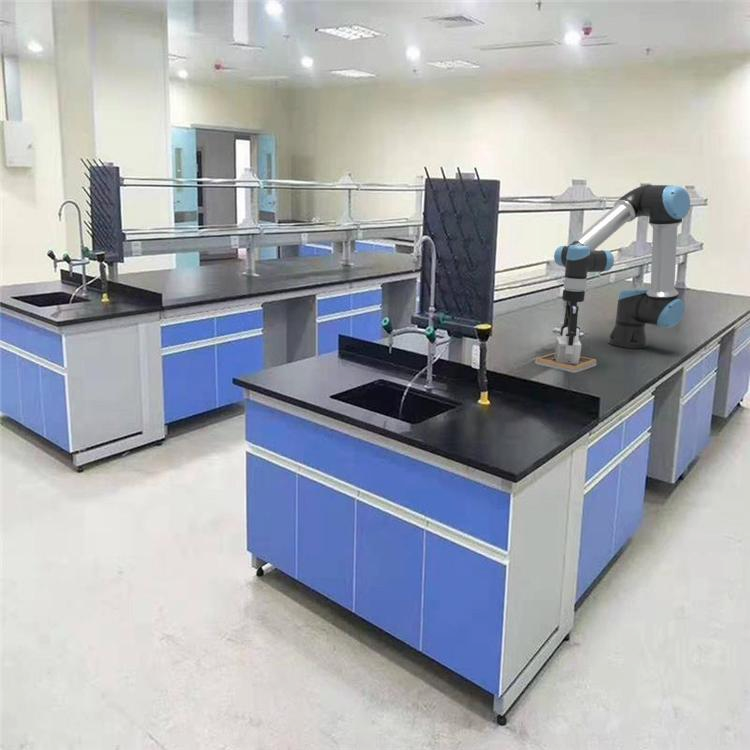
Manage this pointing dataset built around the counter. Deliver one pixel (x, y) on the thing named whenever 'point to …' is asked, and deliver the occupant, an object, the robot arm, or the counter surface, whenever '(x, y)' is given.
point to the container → (561, 347)
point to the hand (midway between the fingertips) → (567, 350)
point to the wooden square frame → (551, 362)
